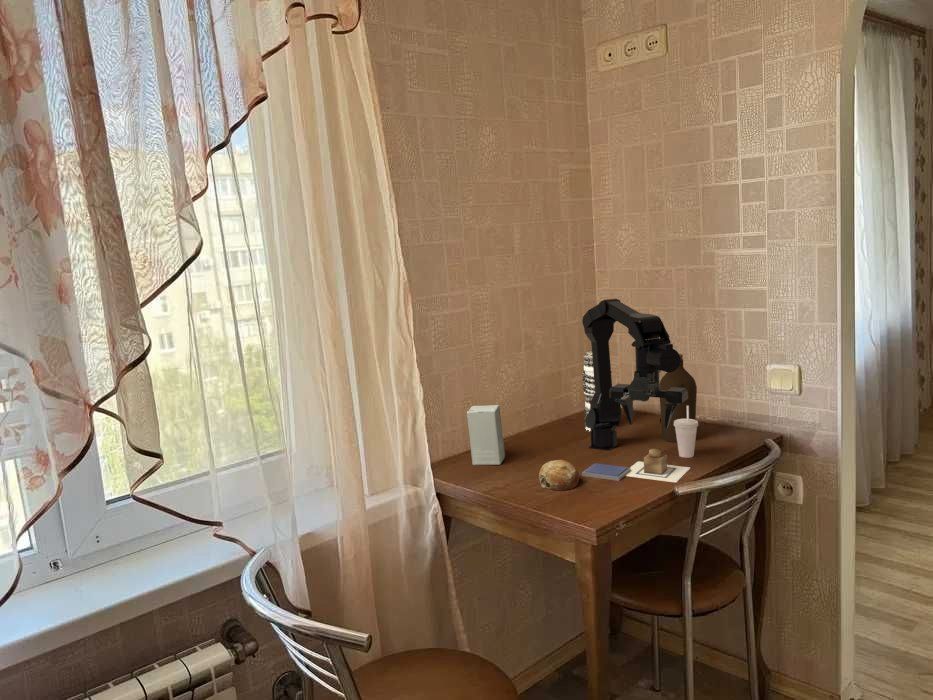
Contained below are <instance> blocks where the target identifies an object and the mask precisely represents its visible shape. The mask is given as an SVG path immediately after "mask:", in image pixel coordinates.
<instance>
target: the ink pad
mask: <svg viewBox="0 0 933 700" xmlns="http://www.w3.org/2000/svg"><path fill="white" fill-rule="evenodd" d="M630 471H631V468H630V467H627V466H622V465H621V466H619V465H611V464H603V463H593V464H591V465H590V466H589V467H587V468H586V469H585V470H584V471H582V472H581V476H582V477H587V478H590V477H591V478H596V479H603V480H609V481H611V480H612V481H617V482H620V481H621V480H622V479H623V478H624V477H626V476H625V475H626V474H627V473H629V472H630Z"/></svg>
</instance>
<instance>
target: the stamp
mask: <svg viewBox="0 0 933 700" xmlns="http://www.w3.org/2000/svg"><path fill="white" fill-rule="evenodd" d="M643 462H644V473H648V474H656V475H662V474H663V473H664V472H665V471H666V470H667V465H668V455H667V454H663V453H662V450H661V449H659V448H651V449H649V450H648V453H647V455H645V456H644V457H643Z"/></svg>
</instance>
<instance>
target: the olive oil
mask: <svg viewBox="0 0 933 700" xmlns="http://www.w3.org/2000/svg"><path fill="white" fill-rule="evenodd" d="M679 355H680V357H681V362H680V365H679V367H678V368H677V369H676V370H675V371H674V372H670V373H669V372H666V373H665V374H664V375H663V376H662V377H661V379H660V380H659V384H661V388H660V390H665V391H667V390H668V389H670V388H671V387H678V388H686V390H687V391H688V399H687V400H686V401H684V402H683V403H680V404H679V405H678V406H677V407H676V408H675V410H674V413H673V415H672V418H671V420H670V423H669V426H668V428H665V412H666V408H665V403H666V402H668V401H667V400H666V398H659V408H660V419H659V422H660V424H661V438H662V439H663V440H664V441H666V442H670V443H677V437H676V430H675V426H674V421H675V420H677V419H687V406H689V419H694V420H697V418H696V416H697V415H696V414H697V394H698V393H697V391H698V387H697V383H696V380H695V379H694V377H693V376H692V375H691V374H690V372H688V371H687V369H685V368H684V359H683V354H681V353H679Z"/></svg>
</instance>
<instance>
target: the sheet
mask: <svg viewBox="0 0 933 700" xmlns="http://www.w3.org/2000/svg"><path fill="white" fill-rule="evenodd" d="M629 468H631V471H630V472H629V473H627V474H626V475H625V476H624V477H631V478H639V479H644V480H645V479H647V480H655V481H660V482H661V481H662V482H668V483H678V481H679V480H681V478H682V477H683V476H684V475H686V474H687V472H688V471H689V470H690V469H691V467H690V466H689V467H688V466H680V465H671V464H667V470H666V471H665V472H664V473H663V474H662V475H656V474H648V473H644V461H640V460H639V461H636V462H635V463H634V464H633V465H631V466H630V467H629Z"/></svg>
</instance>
